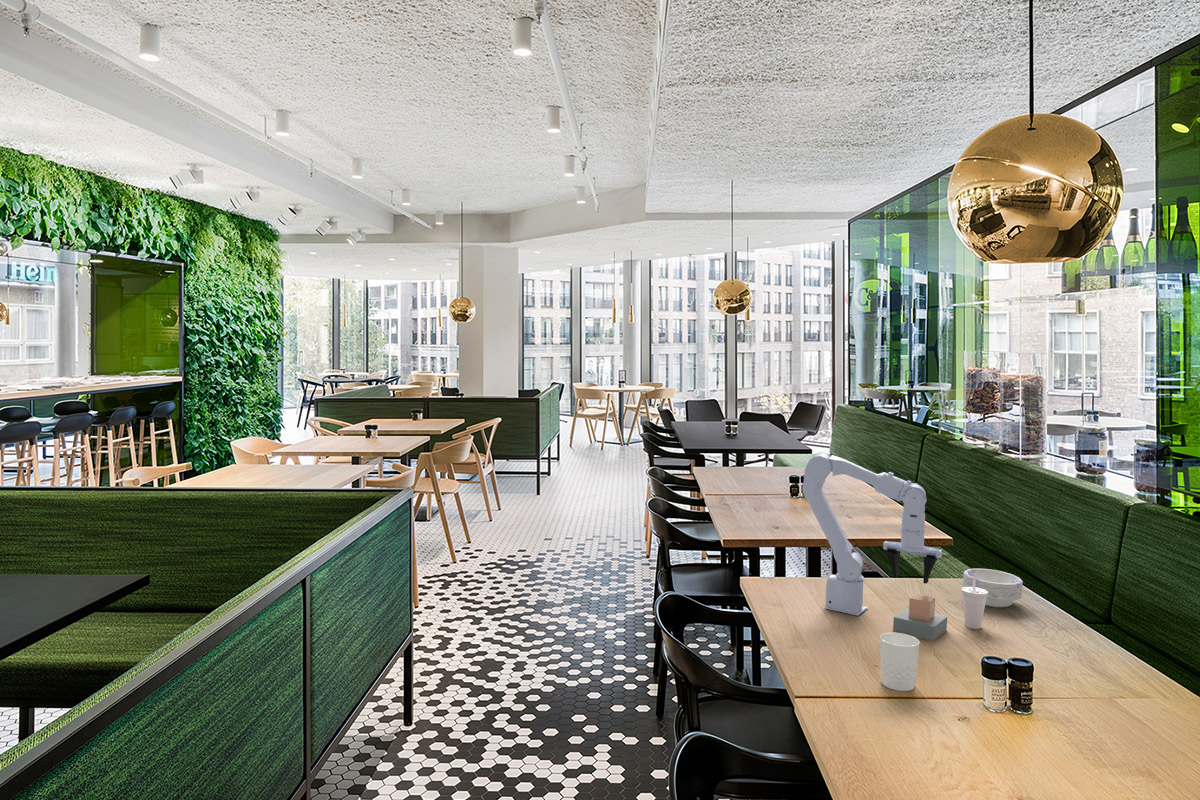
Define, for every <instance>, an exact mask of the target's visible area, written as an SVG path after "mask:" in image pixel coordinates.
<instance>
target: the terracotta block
mask: <svg viewBox="0 0 1200 800" xmlns="http://www.w3.org/2000/svg"><path fill="white" fill-rule="evenodd" d="M908 603H909V604H908V608H909V617H910V618H915V619H919V620H924V621H929V622H930V620H931V619H932V618H933V617H934V614H936V613H935V609H936V608H935V607H936V597H935V596H930V595H924V594H920V593H913V594H912V595H911V596H910V597H909V602H908Z"/></svg>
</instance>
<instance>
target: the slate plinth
mask: <svg viewBox="0 0 1200 800" xmlns="http://www.w3.org/2000/svg"><path fill="white" fill-rule="evenodd" d="M892 625H893V626H892V627H893V628H892V630H893V632H895V633H902V634H907V635H910V636H913V637H915V638H921V639H924V640H928V641H932V642H934V641H936V639H938V638H939V637H940V636H942V635H943V634H944V633H945V632H946V631H947V629H948V628H947V627H948V616H946V615H941V614H938V613H935V614H934V617H933V618H932V619H931V620H930V622H929V621H924V620H919V619H915V618H910V617H909V607H906V608H905V609H904V610H902V611H901V612H899V613H897V614H896V615H894V616H893V624H892Z"/></svg>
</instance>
